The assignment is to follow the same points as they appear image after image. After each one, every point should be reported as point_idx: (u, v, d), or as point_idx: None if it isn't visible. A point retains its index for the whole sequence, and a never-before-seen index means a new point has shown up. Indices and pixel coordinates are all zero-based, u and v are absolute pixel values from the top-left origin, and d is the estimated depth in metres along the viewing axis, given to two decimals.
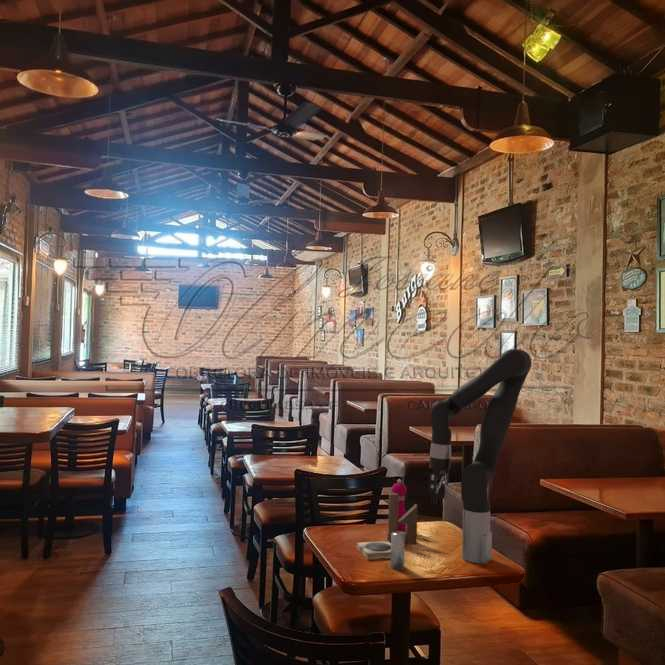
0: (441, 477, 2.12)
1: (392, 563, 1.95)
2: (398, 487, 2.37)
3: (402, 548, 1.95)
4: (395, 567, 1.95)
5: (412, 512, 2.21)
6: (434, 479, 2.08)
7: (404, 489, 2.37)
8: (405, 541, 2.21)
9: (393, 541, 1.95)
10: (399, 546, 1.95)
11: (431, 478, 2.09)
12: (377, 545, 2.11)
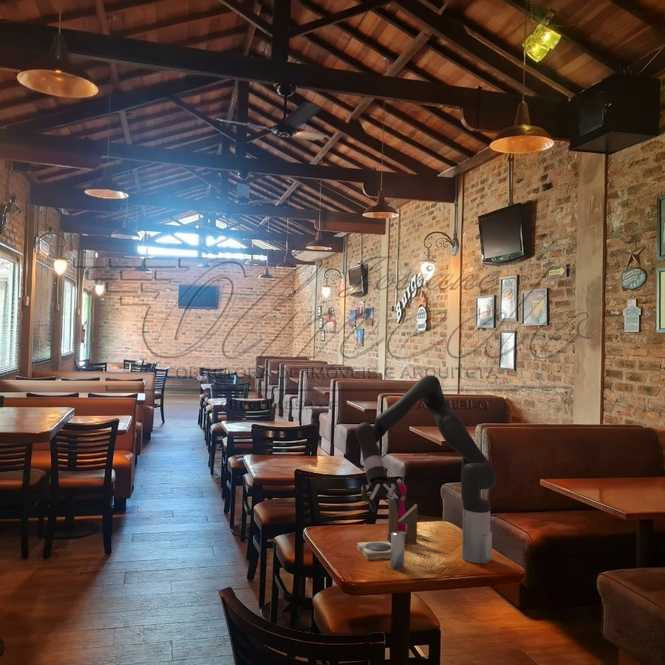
0: None
1: (392, 563, 1.95)
2: None
3: (402, 548, 1.95)
4: (395, 567, 1.95)
5: (412, 512, 2.21)
6: None
7: (404, 489, 2.37)
8: (405, 541, 2.21)
9: (393, 541, 1.95)
10: (399, 546, 1.95)
11: None
12: (377, 545, 2.11)
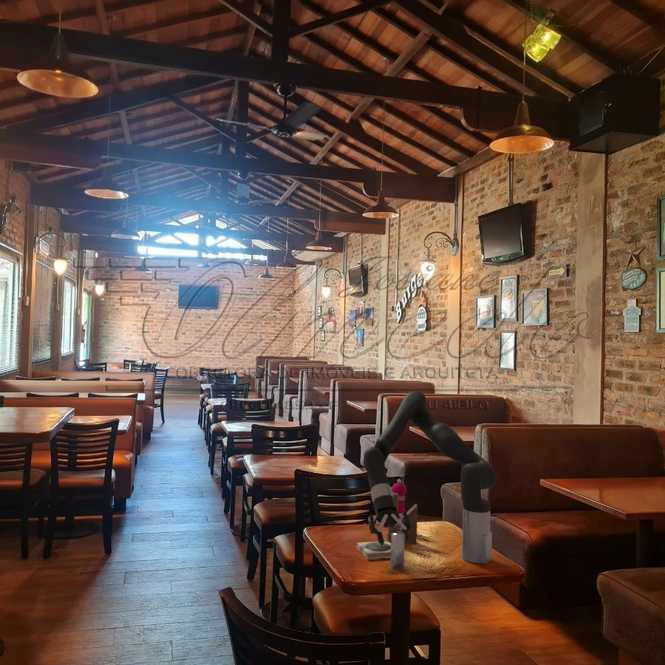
0: None
1: (392, 563, 1.95)
2: (398, 487, 2.37)
3: (402, 548, 1.95)
4: (395, 567, 1.95)
5: (412, 512, 2.21)
6: None
7: (404, 489, 2.37)
8: None
9: (393, 541, 1.95)
10: (399, 546, 1.95)
11: None
12: (377, 545, 2.11)
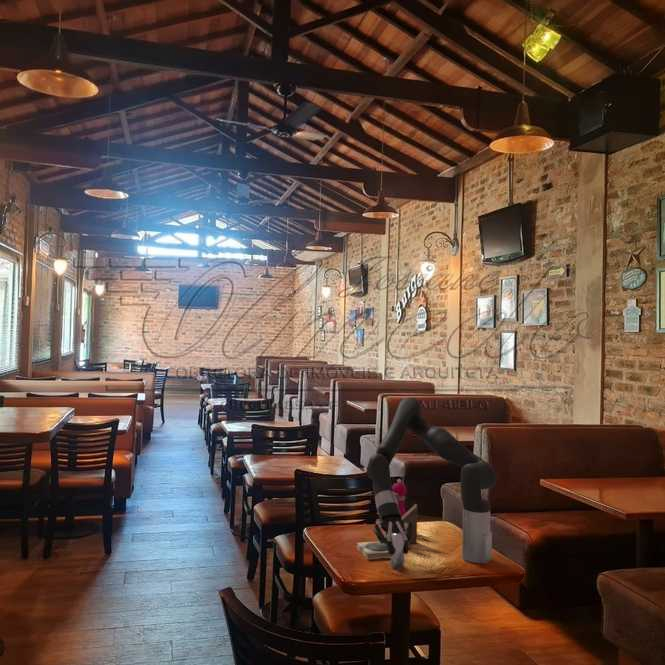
0: None
1: (392, 563, 1.95)
2: (398, 487, 2.37)
3: (402, 548, 1.95)
4: (395, 567, 1.95)
5: (412, 512, 2.21)
6: None
7: (404, 489, 2.37)
8: None
9: (393, 541, 1.95)
10: (399, 546, 1.95)
11: None
12: (377, 545, 2.11)
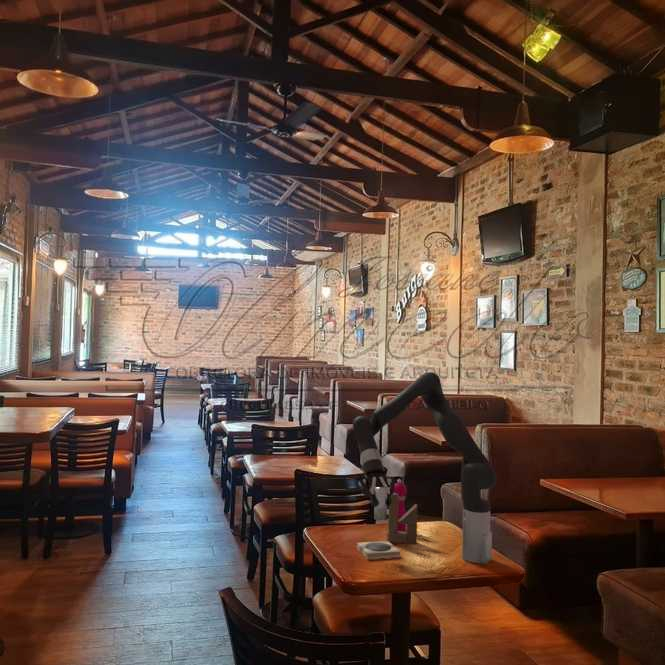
0: None
1: (375, 515, 2.07)
2: (398, 487, 2.37)
3: (385, 500, 2.07)
4: (378, 518, 2.06)
5: (412, 512, 2.21)
6: None
7: (404, 489, 2.37)
8: (405, 541, 2.21)
9: (376, 494, 2.07)
10: (382, 498, 2.06)
11: None
12: (377, 545, 2.11)
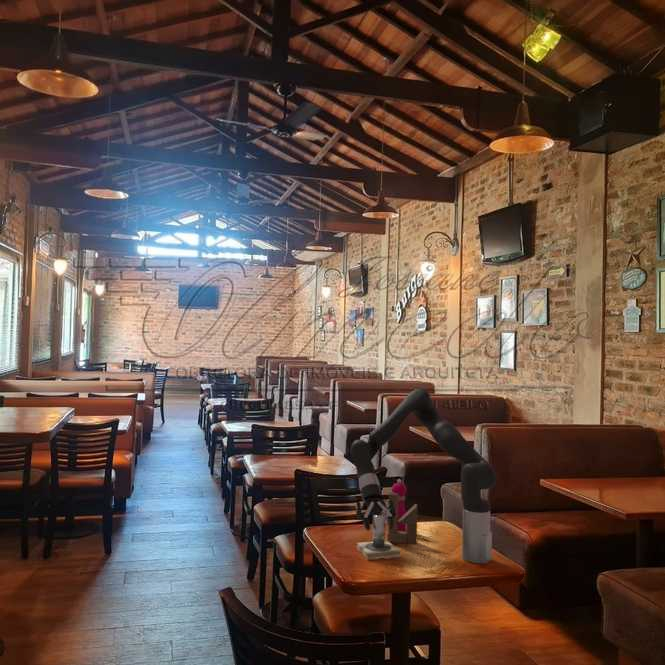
0: None
1: (373, 542, 2.09)
2: (398, 487, 2.37)
3: (383, 528, 2.09)
4: (376, 546, 2.08)
5: (412, 512, 2.21)
6: None
7: (404, 489, 2.37)
8: (405, 541, 2.21)
9: (374, 522, 2.09)
10: (380, 526, 2.08)
11: None
12: None
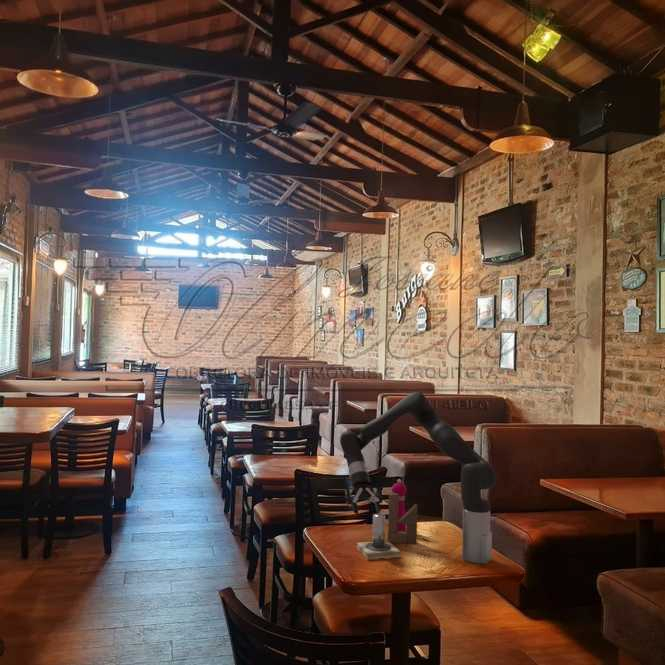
0: None
1: (373, 542, 2.09)
2: (398, 487, 2.37)
3: (383, 528, 2.09)
4: (376, 546, 2.08)
5: (412, 512, 2.21)
6: None
7: (404, 489, 2.37)
8: (405, 541, 2.21)
9: (374, 522, 2.09)
10: (380, 526, 2.08)
11: None
12: None
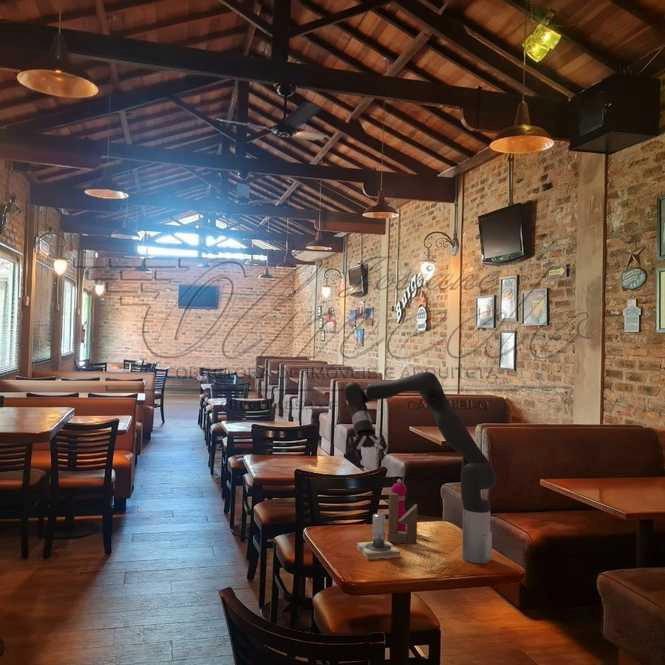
0: None
1: (373, 542, 2.09)
2: (398, 487, 2.37)
3: (383, 528, 2.09)
4: (376, 546, 2.08)
5: (412, 512, 2.21)
6: None
7: (404, 489, 2.37)
8: (405, 541, 2.21)
9: (374, 522, 2.09)
10: (380, 526, 2.08)
11: None
12: None
